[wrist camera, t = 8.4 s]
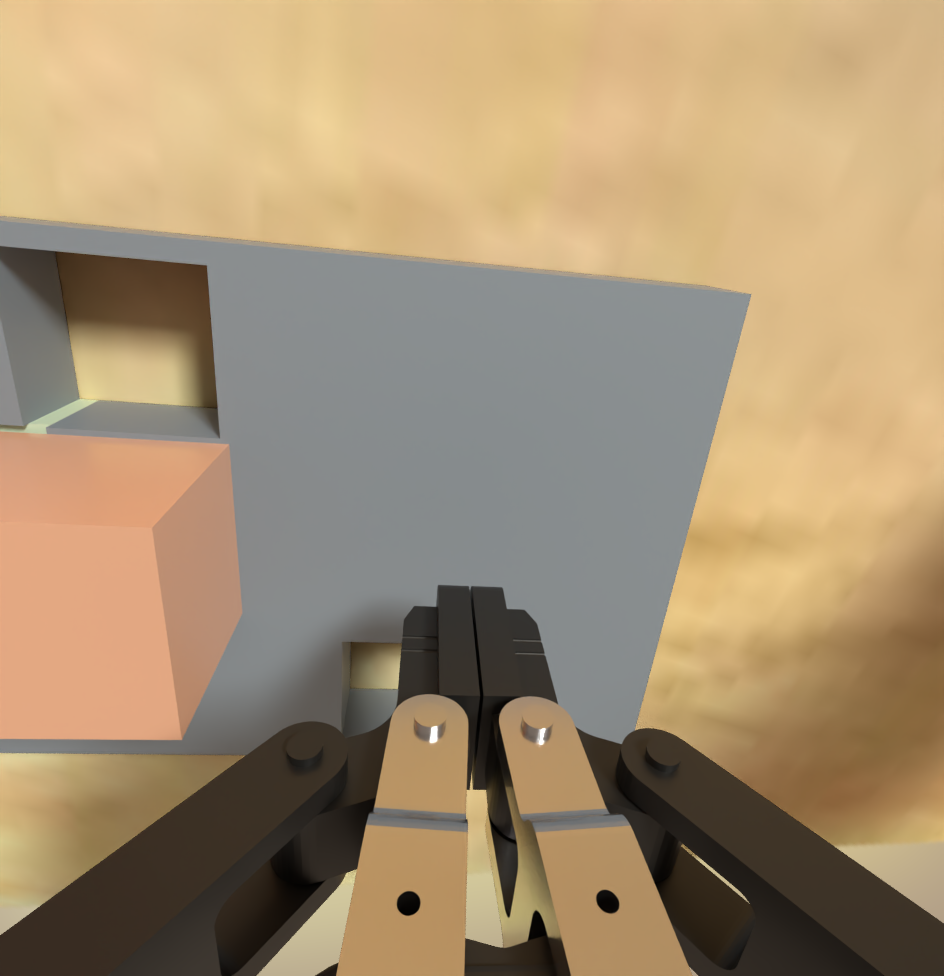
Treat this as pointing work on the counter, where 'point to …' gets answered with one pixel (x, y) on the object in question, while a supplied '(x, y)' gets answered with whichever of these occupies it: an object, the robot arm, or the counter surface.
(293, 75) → the counter surface
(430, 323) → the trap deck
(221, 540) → the terracotta block
